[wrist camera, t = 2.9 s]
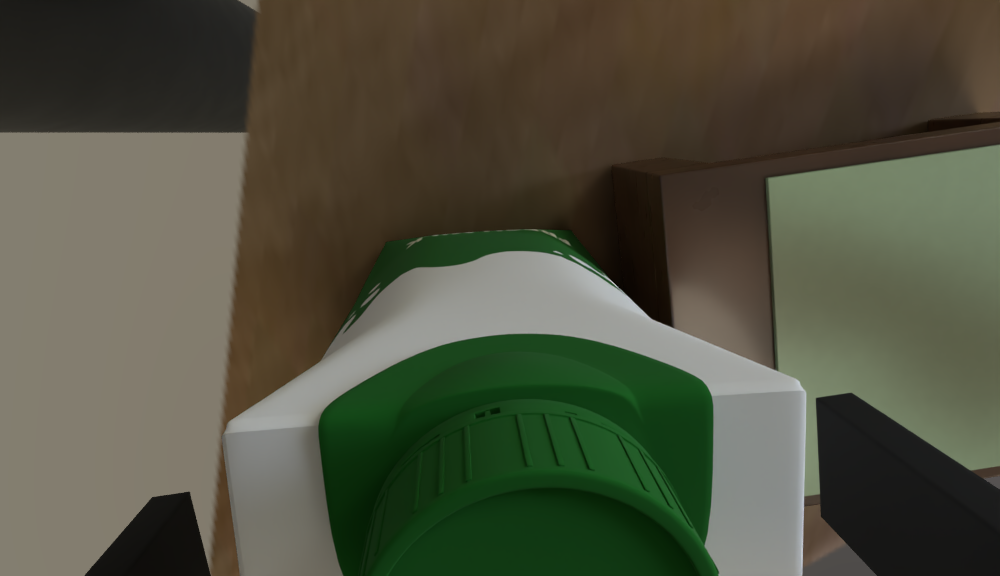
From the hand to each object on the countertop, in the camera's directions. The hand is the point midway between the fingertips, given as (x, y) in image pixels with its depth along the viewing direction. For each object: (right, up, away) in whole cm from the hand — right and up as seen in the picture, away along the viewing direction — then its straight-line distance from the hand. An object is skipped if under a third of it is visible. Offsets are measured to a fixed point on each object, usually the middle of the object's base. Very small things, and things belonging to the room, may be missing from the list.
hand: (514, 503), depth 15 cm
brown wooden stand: (+11, +5, +13) cm, 18 cm away
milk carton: (-1, +3, +13) cm, 13 cm away
